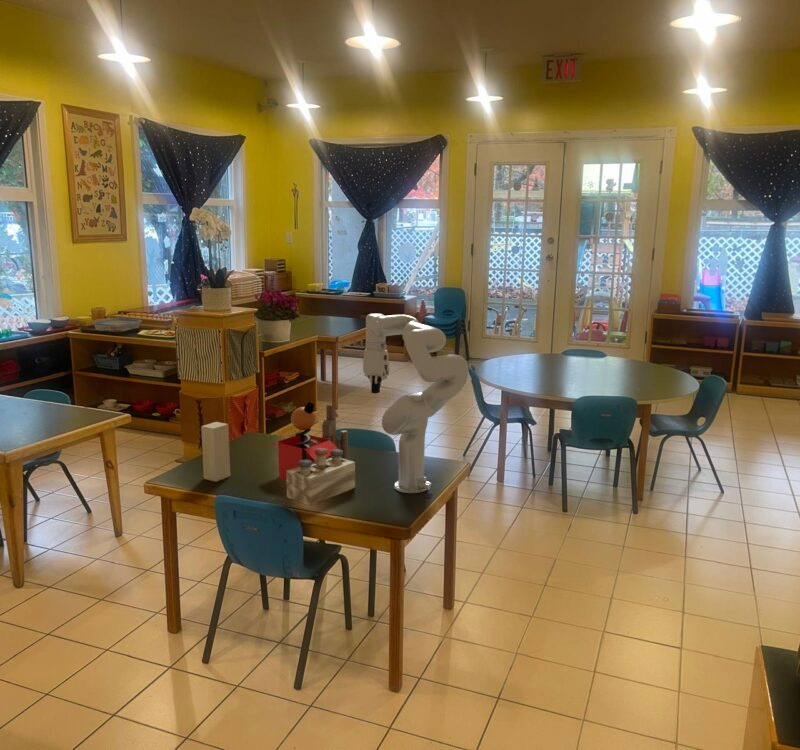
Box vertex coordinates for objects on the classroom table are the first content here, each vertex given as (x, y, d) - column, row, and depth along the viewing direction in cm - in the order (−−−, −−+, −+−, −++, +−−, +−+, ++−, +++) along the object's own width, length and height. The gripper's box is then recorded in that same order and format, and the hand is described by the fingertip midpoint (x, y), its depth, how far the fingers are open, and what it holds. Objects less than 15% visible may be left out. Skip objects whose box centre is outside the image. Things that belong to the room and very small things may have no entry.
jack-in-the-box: (343, 477, 284) (342, 402, 278) (316, 489, 272) (314, 410, 266) (294, 464, 299) (292, 392, 293) (266, 475, 286) (264, 400, 280)
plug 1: (314, 486, 262) (314, 461, 260) (305, 489, 259) (304, 464, 257) (305, 483, 265) (305, 458, 263) (296, 486, 261) (295, 462, 259)
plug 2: (345, 474, 274) (345, 450, 272) (336, 477, 271) (336, 453, 269) (336, 471, 277) (336, 448, 275) (328, 475, 274) (327, 451, 272)
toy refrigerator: (217, 472, 288) (214, 421, 284) (231, 476, 285) (228, 423, 280) (202, 478, 282) (199, 425, 277) (216, 482, 278) (213, 428, 274)
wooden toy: (333, 471, 291) (332, 410, 285) (318, 469, 293) (317, 409, 288) (349, 460, 305) (348, 401, 300) (334, 458, 307) (333, 400, 302)
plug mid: (330, 473, 268) (330, 449, 266) (321, 477, 264) (321, 452, 262) (321, 470, 270) (321, 447, 268) (312, 474, 267) (311, 449, 265)
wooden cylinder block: (355, 487, 274) (354, 462, 272) (310, 505, 256) (309, 478, 254) (331, 480, 281) (331, 455, 279) (286, 497, 264) (286, 470, 262)
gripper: (397, 347, 279) (396, 394, 283) (367, 342, 288) (367, 388, 292) (384, 349, 274) (384, 397, 277) (354, 345, 283) (354, 391, 287)
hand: (375, 392), depth 285 cm, fingers closed
